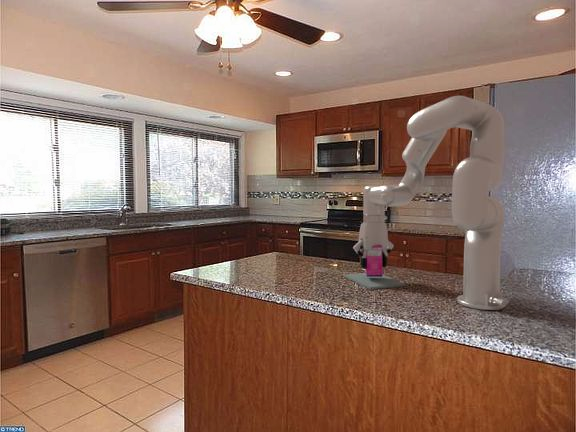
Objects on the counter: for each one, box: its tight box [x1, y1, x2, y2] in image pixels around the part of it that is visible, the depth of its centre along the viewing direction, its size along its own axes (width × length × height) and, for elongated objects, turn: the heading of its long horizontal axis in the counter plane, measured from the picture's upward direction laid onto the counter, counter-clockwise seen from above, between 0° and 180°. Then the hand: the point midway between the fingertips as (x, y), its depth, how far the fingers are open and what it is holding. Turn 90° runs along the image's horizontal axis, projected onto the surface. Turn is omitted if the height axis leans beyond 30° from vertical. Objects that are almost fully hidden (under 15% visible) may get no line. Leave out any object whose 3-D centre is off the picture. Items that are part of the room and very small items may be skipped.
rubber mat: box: [343, 272, 407, 290], centre depth 141 cm, size 20×14×1 cm
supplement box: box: [364, 245, 383, 277], centre depth 140 cm, size 6×6×12 cm
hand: (373, 267), depth 141 cm, fingers closed on supplement box, 7 cm apart
